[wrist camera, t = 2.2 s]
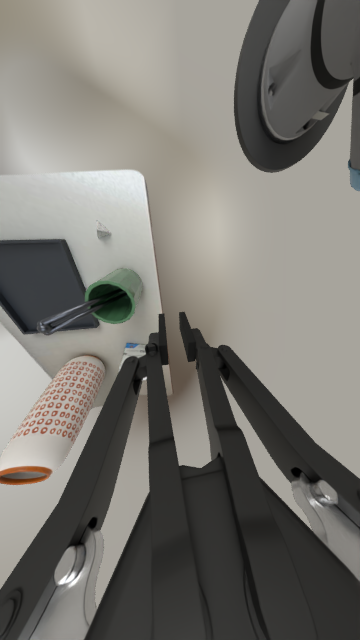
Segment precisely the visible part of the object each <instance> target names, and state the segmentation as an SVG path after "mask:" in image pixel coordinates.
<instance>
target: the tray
mask: <svg viewBox="0 0 360 640" xmlns="http://www.w3.org/2000/svg"><path fill="white" fill-rule="evenodd" d="M85 292H86V290H85V287H84V285H83V282H82V280H81V278H80V275H79V273H78V270H77V268H76V265H75V263H74V260H73V258H72V255H71V253H70V250H69V248H68V245H67V243H66V241H65V240H62V239H52V240H0V306H1V307H2V308H3V309H4V311H5V312H6V313H7V314H8V316H9V317H10V318H11V319H12V321H13V322H14V323H15V324H16V326H17V327H18V328H19V329H20V331H21V332H22V333H23V334H34V333H40V332H39V331H38V330H37V327H38V325H37V323H38V322H39V321H41V320H44V319H46V318H48V317H51V316H53V315H56V314H58V313H61V312H63V311H65V310H68V309H70V308H73V307H75V306H77V305H80V304H82V303H85ZM86 310H88V308H85V309H82V310H80V311H78V312H76V313H74V314H71V315H69V316H67V317H65V318H63V319H60V320H58V321H56V322H54V323H52V324H51V325H52V326H54V325H56V324H58V323H60V322H62V321H64V320H67V319H69V318H71V317H73V316H75V315H77V314H79V313H81V312H84V311H86ZM98 326H99V322H98V320H97V318H96V317H95V316H94V315H92V314H89V315H87V316H86V317H84V318H82V319H80V320H78V321H76V322H74V323H72V324H70V325H68V326H66V327H64V328H62V329H60V330H58V331H67V330H78V329H88V328H97V327H98Z"/></svg>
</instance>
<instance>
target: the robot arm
mask: <svg viewBox="0 0 360 640" xmlns="http://www.w3.org/2000/svg"><path fill="white" fill-rule="evenodd" d="M353 78H354V83H353V101H352V102H353V103H352V126H351V149H350V150H351V151H350V160H349V161H348V168H349V170H350V184H351V187H353V188H354V189H355V190H357V191H360V0H290V2H289V3H288V5H287V7H286V8H285V10H284V12H283V14H282V16H281V18H280V19H279V21H278V23H277V25H276V27H275V29H274V31H273V33H272V35H271V37H270V39H269V42H268V44H267V47H266V50H265V53H264V56H263V60H262V64H261V68H260V73H259V80H258V90H257V106H258V114H259V119H260V123H261V126H262V128H263V131H264V132H265V134H266V135H267V137H268V138H269V139H270V140H272V141H273V142H275V143H278V144H286V143H290V142H292V141H294V140H296V139H297V138H299V137H300V136H301V135H303V134H304V133H305V132H306V131H308V130H309V129H310V128H311V127H312V126H313V125H314V124H315V123H316V122H317V121H318V120H322V119H323V118H325V117H326V116H327V115H329V114H328V113H324V112H325V111H326V110H327V108H328V107H329V106H330V105H331V103H332V102H333V101H334V100H335V98H336V97H337V96H338V95H339V94H340V92H341V91H342V90H343V89H344V87H345V86H346V85H347V84H348V82H350V80H352V79H353ZM179 318H180V331H181V335H182V339H183V343H184V347H185V351H186V355H187V359H188V362H191V361H195V359H196V369H197V372H198V378H199V383H200V389H201V395H202V400H203V406H204V412H205V417H206V422H207V429H208V434H209V440H210V450H211V459H212V461H211V462H209V463H208V464H207V465H205V466H204V467H202V468H196V467H190V466H184V465H182V466H179V464H178V458H177V452H176V446H175V441H174V436H173V430H172V424H171V418H170V412H169V406H168V400H167V394H166V388H165V382H164V376H163V370H162V365H168V364H169V362H168V351H167V339H166V327H165V317H164V314H159V332H158V333H151V334H150V336H149V342H148V344H147V345H146V346H145V352H146V354H145V355H144V356H142V357H139V358H138V357H136V356H130V357H128V358H126V359H125V361H124V362H123V364H122V367H121V369H120V371H119V373H118V375H117V377H116V380H115V382H114V384H113V386H112V388H111V390H110V392H109V395H108V397H107V399H106V401H105V403H104V405H103V408H102V410H101V412H100V415H99V416H98V418H97V421H96V423H95V425H94V427H93V429H92V431H91V434H90V436H89V438H88V440H87V442H86V444H85V446H84V449H83V451H82V453H81V455H80V457H79V459H78V462H77V464H76V466H75V468H74V470H73V472H72V475H71V477H70V479H69V481H68V483H67V485H66V488H65V490H64V492H63V494H62V496H61V498H60V500H59V503H58V504H57V506H56V507H55V509H54V510H53V512H52V513H51V515H50V516H49V518H48V519H47V521H46V522H45V524H44V525H43V527H42V528H41V530H40V531H39V533H38V534H37V536H36V537H35V539H34V540H33V542H32V543H31V545H30V546H29V547H28V549H27V551H26V552H25V553H24V555H23V556H22V558H21V559H20V561H19V562H18V564H17V566H16V567H15V568H14V570H13V571H12V573H11V575H10V576H9V577H8V579H7V581H6V582H5V584H4V585H3V587H2V588H1V589H0V640H360V479H359V478H358V477H357V476H355V475H354V474H353V473H352V472H351V471H349V470H348V469H347V468H346V467H344V466H343V465H342V464H341V463H340V462H338V461H337V460H336V459H334V458H333V457H332V456H331V455H330V454H328V453H327V452H326V451H325V450H323V449H322V448H321V447H320V446H319V445H317V444H316V443H315V442H314V441H313V439H312V438H311V437H310V436H309V435H308V434H307V433H306V432H305V431H304V430H303V428H302V427H301V426H300V425H299V424H298V423H297V422H296V420H295V419H294V418H293V417H292V416H291V415H290V414H289V413H288V412H287V410H286V409H285V408H284V407H283V406H282V405H281V404H280V403H279V402H278V400H277V399H276V398H275V397H274V396H273V395H272V394H271V393H270V392H269V390H268V389H267V388H266V387H265V386H264V385H263V384H262V383H261V381H260V380H259V379H258V378H257V377H256V376H255V375H254V374H253V373H252V372H251V370H250V369H249V368H248V367H247V366H246V365H245V364H244V363H243V362H242V360H241V359H240V358H239V357H238V356H237V355H236V354H235V353H234V351H233V350H231V348H230V347H229V346H226V345H220V346H219V347H218V348H213V347H210V346H209V345H208V344H207V343H206V342H205V340H204V338H203V336H202V334H201V332H200V330H199V329H197V328H196V329H191V327H190V325H189V322H188V320H187V317H186V314H185V312H180V313H179ZM220 376H221V377H220ZM145 377H147V393H148V415H149V417H148V418H149V451H148V453H149V486H150V492H149V494H148V496H147V498H146V500H145V502H144V504H143V506H142V509H141V511H140V513H139V516H138V518H137V520H136V522H135V525H134V527H133V529H132V532H131V534H130V536H129V538H128V541H127V543H126V545H125V547H124V550H123V552H122V554H121V557H120V559H119V561H118V564H117V566H116V568H115V570H114V572H113V575H112V577H111V579H110V581H109V584H108V586H107V588H106V591H105V593H104V595H103V597H102V600H101V602H100V604H99V607H98V609H96V603H95V587H96V580H97V575H98V572H99V568H100V564H101V561H102V557H103V551H104V539H103V535H102V533H101V532H100V530H101V527H102V525H103V522H104V519H105V517H106V514H107V511H108V508H109V505H110V502H111V498H112V495H113V492H114V488H115V483H116V480H117V476H118V472H119V468H120V465H121V461H122V457H123V453H124V449H125V446H126V442H127V438H128V434H129V430H130V426H131V423H132V419H133V415H134V411H135V407H136V404H137V400H138V396H139V392H140V388H141V384H142V381H143V378H145ZM221 378H222V379H223V381H224V383H225V384H226V386H227V387H228V389H229V391H230V392H231V394H232V395H233V397H234V398H235V400H236V402H237V403H238V405H239V406H240V408H241V410H242V411H243V413H244V414H245V416H246V418H247V419H248V421H249V422H250V424H251V425H252V427H253V429H254V430H255V432H256V433H257V435H258V437H259V438H260V440H261V441H262V443H263V445H264V446H265V448H266V449H267V451H268V453H269V454H270V456H271V457H272V459H273V460H274V462H275V463H276V465H277V466H278V468H279V469H280V470H281V471H282V473H283V474H284V475H285V477H286V478H287V479H288V480H289V481H290V483H291V485H292V491H293V495H294V499H295V501H296V503H297V504H298V505H299V506H300V507H301V509H302V510H303V512H304V513H305V515H306V516H307V518H308V520H309V522H310V525H311V527H312V530H313V531H312V530H311V529H310V528H309V527H308V526H307V525H306V524H305V523H304V522H303V521H302V520H301V519H300V518H299V517H298V516H297V515H296V514H295V513H294V512H293V511H292V510H291V509H290V508H289V507H288V506H287V505H286V503H285V502H284V501H282V499H281V498H280V497H279V496H278V495H277V494H276V493H275V492H274V491H273V490H272V489H271V488H270V487H269V486H268V485H267V484H266V483H265V482H264V481H263V480H262V479H261V478H260V477H259V475H258V472H257V470H256V467H255V464H254V462H253V459H252V456H251V453H250V450H249V448H248V445H247V442H246V439H245V437H244V434H243V432H242V430H241V429H240V428H239V427H238V426H237V424H236V421H235V418H234V415H233V413H232V410H231V407H230V404H229V401H228V398H227V395H226V392H225V390H224V386H223V384H222V381H221Z"/></svg>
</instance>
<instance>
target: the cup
mask: <svg viewBox="0 0 360 640" xmlns="http://www.w3.org/2000/svg"><path fill="white" fill-rule="evenodd" d="M119 288H121V289H122V290H124V291H122V292H120V293H118V294H115V295H113V296H111V297H109V298H107V299H104V300H102V301H100V302H98V303H96V304H93V305H91V306H89V307H87V308H88V309H90V308H92V307H94V306H96V305H98V304H100V303H103V302H105V301H107V300H109V299H111V298H113V297H115V296H117V295H120V294H122V293H124V292H126V293H127V294H128V295H126V296H125V297H123V298H121V299H119V300H117V301H115V302H113V303H111V304H109V305H107V306H105V307H103V308H101V309H99V310H97V311H95V312H93V313H91V314H92V315H94V316H95V317H96V318H97V319H99V320H101V321H103V322H106V323H111V324H117V323H123V322H125V321H127V320H129V319H130V318H131V317H132V315H133V314H134V312H135V309H136V306H137V304H138V301H139V298H140V295H141V292H142V288H143V285H142V281H141V279H140V277H139V276H138V275H137V274H136V273H135V272H134V271H132V270H130V269H126V268H121V269H117V270H115V271H114V272H112V273H110V274H109V275H107V276H105V277H104V278H102V279H100V280H98V281H97V282H95V283H93V284H92V285H90V286H89V287H88V289H87V291H86V292H85V302H87V301H90V300H92V299H94V298H97V297H99V296H102V295H104V294H106V293H109V292H111V291H114V290H116V289H119Z"/></svg>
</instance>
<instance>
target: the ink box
mask: <svg viewBox="0 0 360 640" xmlns="http://www.w3.org/2000/svg"><path fill="white" fill-rule="evenodd" d="M145 346H146V345H141V344H129V343H127V344H126V347H125V350H124V354H123V357H122V360H121V364H120V367H119V371H120V369H121V367H122V364H123V362H124V361H125V359H126V358H128V357H130V356H136V357H138V358H139V357H142V356H144V355H145V354H146V352H145ZM143 380H147V377H145V378H143Z"/></svg>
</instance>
